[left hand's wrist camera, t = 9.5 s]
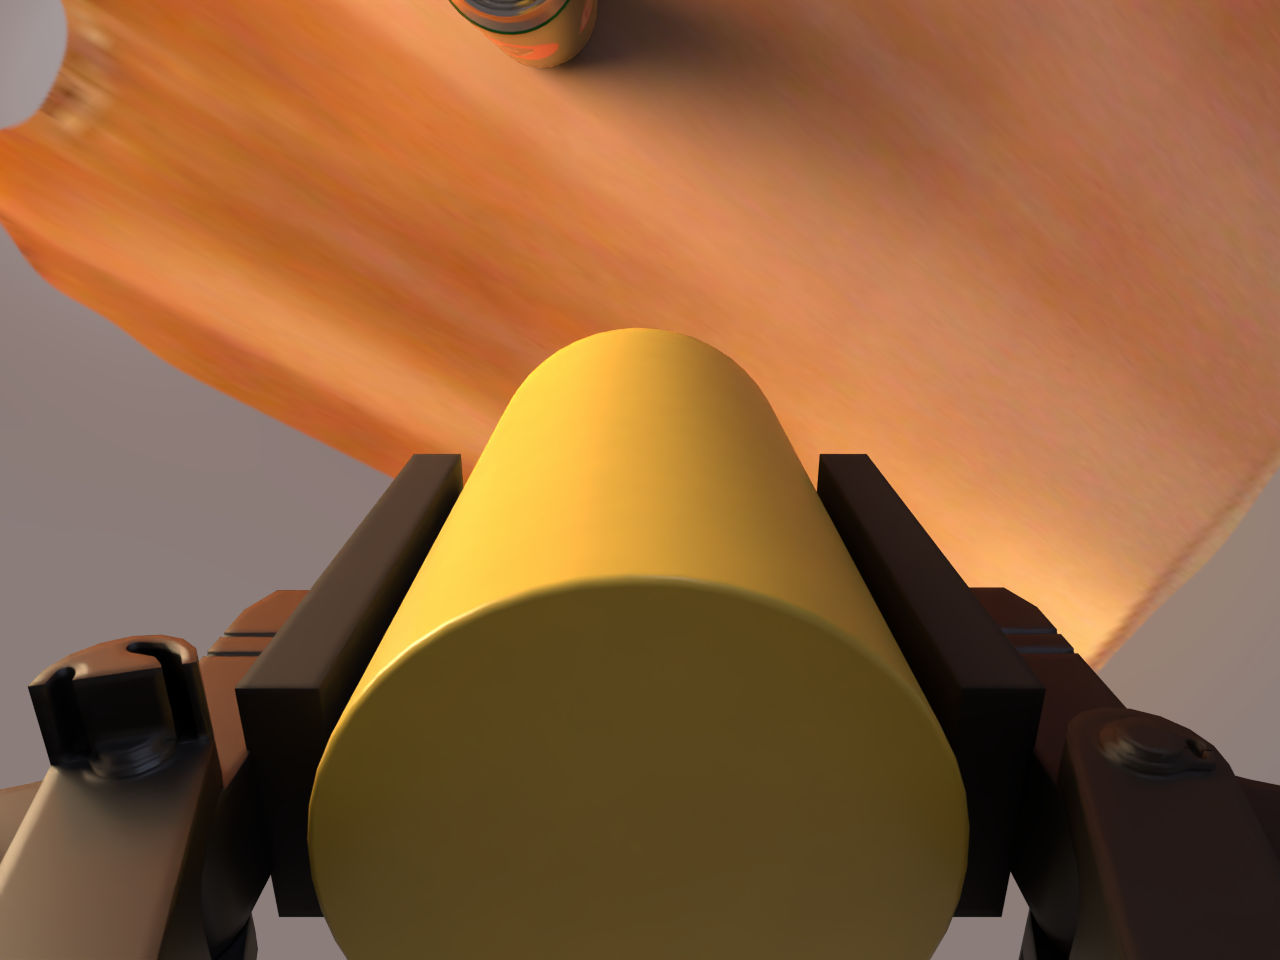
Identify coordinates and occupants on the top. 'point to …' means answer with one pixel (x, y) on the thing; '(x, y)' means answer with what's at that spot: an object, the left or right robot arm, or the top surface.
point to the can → (638, 702)
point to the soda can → (533, 27)
